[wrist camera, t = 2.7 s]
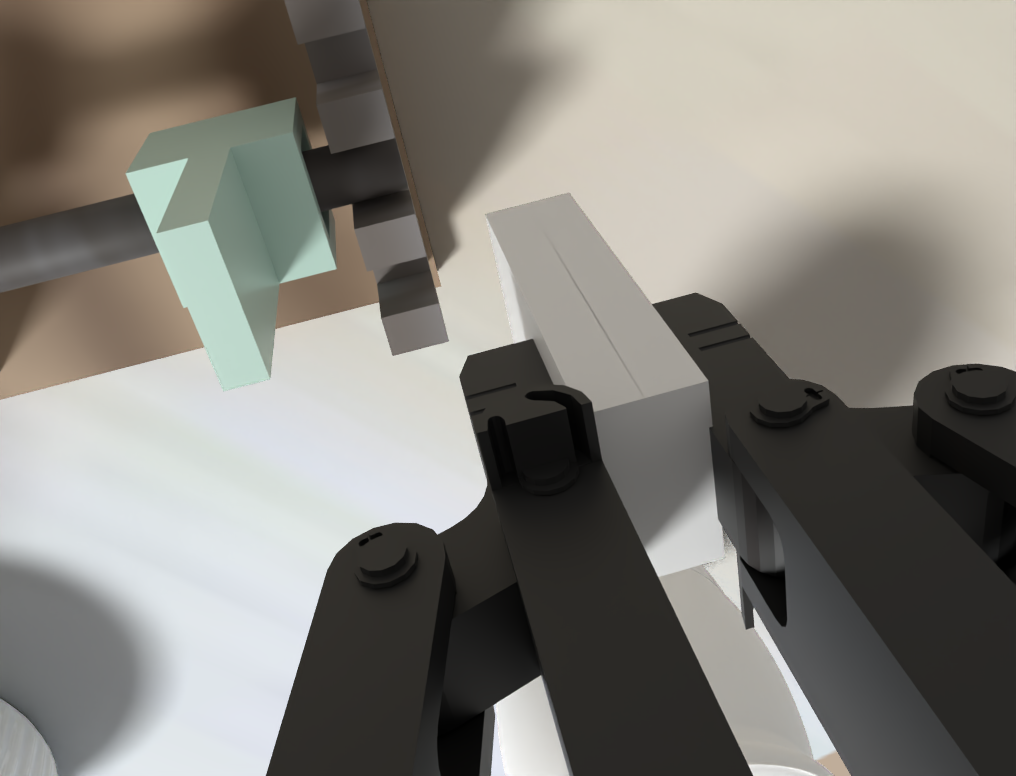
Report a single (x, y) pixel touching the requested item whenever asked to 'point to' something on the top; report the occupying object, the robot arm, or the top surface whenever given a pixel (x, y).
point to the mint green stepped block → (234, 226)
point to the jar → (729, 670)
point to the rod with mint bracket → (170, 103)
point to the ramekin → (22, 746)
